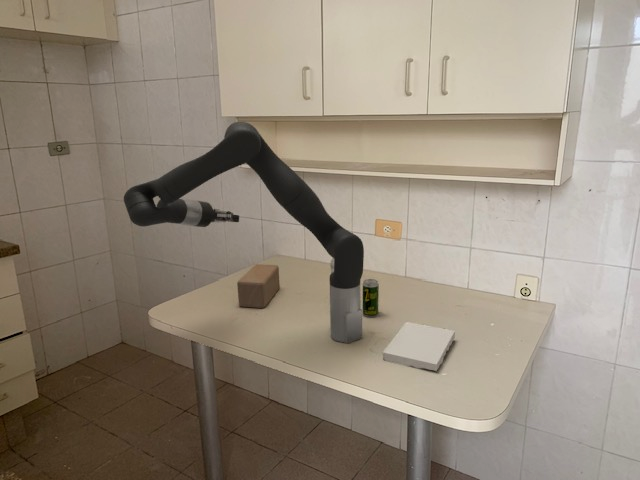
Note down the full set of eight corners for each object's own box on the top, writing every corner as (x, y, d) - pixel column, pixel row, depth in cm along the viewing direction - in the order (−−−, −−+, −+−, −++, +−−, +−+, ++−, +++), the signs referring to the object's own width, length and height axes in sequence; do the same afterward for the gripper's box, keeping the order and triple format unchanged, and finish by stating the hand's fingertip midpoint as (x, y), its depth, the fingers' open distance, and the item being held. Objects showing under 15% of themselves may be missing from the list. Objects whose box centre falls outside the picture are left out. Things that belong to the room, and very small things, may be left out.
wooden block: (263, 282, 162) (279, 264, 180) (236, 281, 164) (254, 263, 182) (264, 309, 164) (280, 288, 183) (238, 307, 166) (256, 287, 185)
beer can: (361, 311, 160) (361, 279, 157) (377, 311, 161) (377, 278, 157) (363, 318, 155) (363, 284, 152) (379, 317, 155) (379, 284, 152)
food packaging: (436, 375, 123) (454, 341, 139) (436, 364, 122) (454, 331, 138) (382, 362, 130) (406, 331, 146) (382, 352, 129) (406, 321, 145)
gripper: (208, 199, 130) (253, 206, 144) (179, 200, 138) (224, 207, 152) (206, 225, 130) (251, 230, 143) (178, 226, 138) (223, 230, 151)
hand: (237, 218), depth 147 cm, fingers closed
